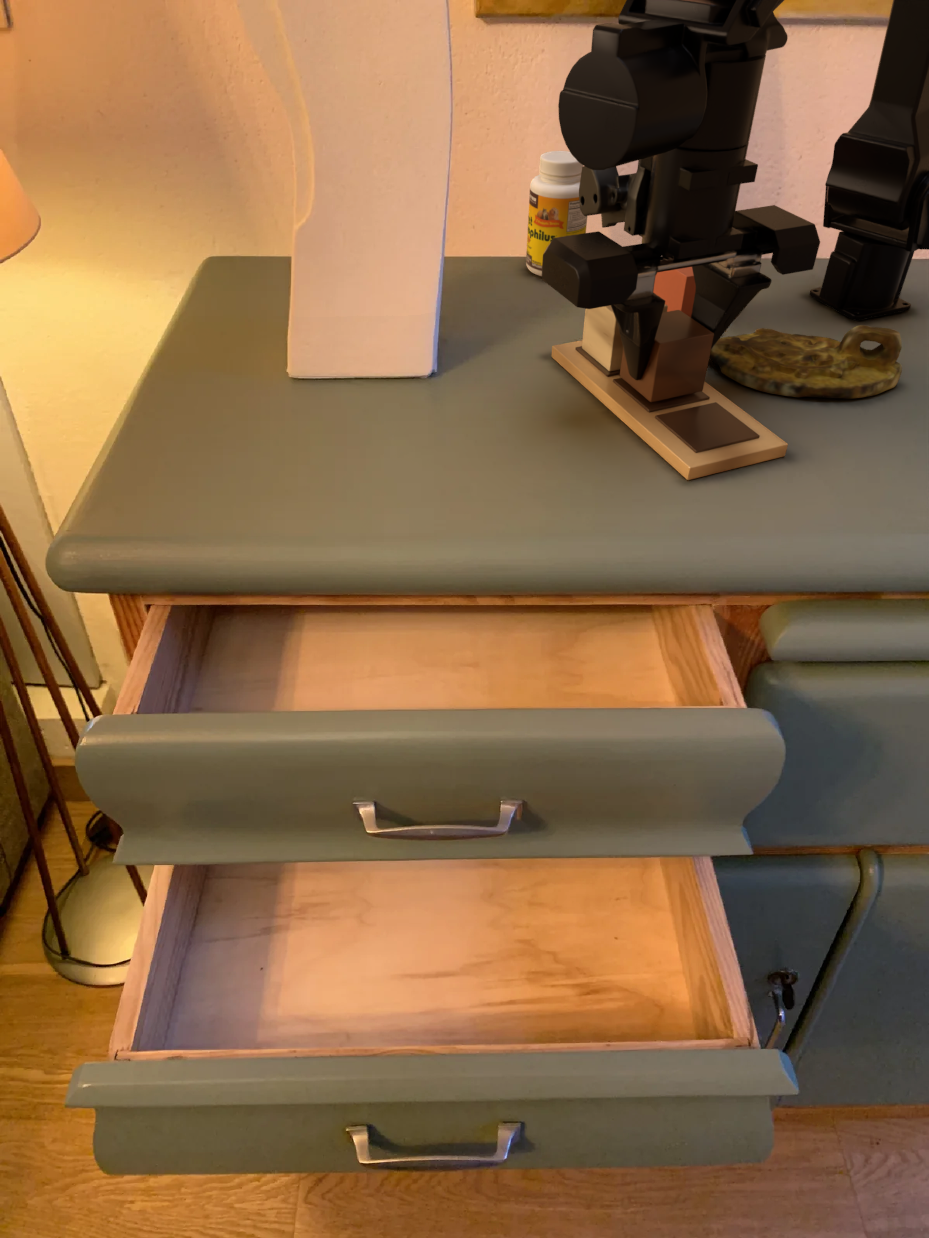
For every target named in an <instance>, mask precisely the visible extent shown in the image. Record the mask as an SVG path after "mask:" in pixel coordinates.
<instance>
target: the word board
mask: <svg viewBox="0 0 929 1238" xmlns="http://www.w3.org/2000/svg"><path fill="white" fill-rule="evenodd" d="M667 308H668V306H667V305H666V304H665V305H664V309H663V312H662V313H664V312H667ZM582 331H583V332H582V339H581V340H577V341H571V342H566V343H559V344H555V345H552V346H551V358H552V359H553V360H554V361H555V362H557V363H558V365H560V366H561V367H562V368H563V369H564V370H565V371H566V372H567V373H568V374H570V375H571V376H572V377H573V378H574V379H575V380H576V381H577V382H579V384H581V385H582V387H584V388H585V389H586V390H587V391H588V392H589V393H591V394H592V396H594V397H595V398H596V399H597V400H598V401H599V402H601V403H602V405H604V406H605V407H606V408H607V409H608V410H610V412H611V413H613V414H614V415H615V416H616V417H617V418H618V419H619V420H621V421H622V422H623V423H624V424H625V425H626V426H627V427H628V428H629V429H630V430H632V432H634V433H635V434H636V435H637V436H638V437H639V438H640V439H641V440H643V442H645V443H646V444H647V445H648V446H649V447H650V448H651V449H652V450H654V451H655V452H656V453H657V454H658V455H659V456H660V457H661V458H662V459H663V460H665V461H666V462H667V464H669V465H670V466H671V467H672V468H674V470H676V471H677V472H678V473H679V474H680V475H681V476H682V477H684V478H685V480H686V481H691V480H694V479H699V478H703V477H706V476H711V475H715V474H718V473H723V472H726V471H730V470H734V469H738V468H743V467H747V466H750V465H751V466H752V465H755V464H759V463H763V462H766V461H767V462H768V461H771V460H776V459H779V458H783V457H785V456H786V454H787V450H788V446H789V443H787V442H786V441H784V440H783V439H782V438H780V436H778V435H777V434H775V433H774V432H773V431H771V430H770V429H769V428H767V427H766V426H765V425H764V424H762V423H761V422H759V421H758V420H757V419H755V417H753V416H752V415H751V414H750V413H748V412H746V411H744V409H742V408H741V407H740V406H738V405H737V404H736V403H735V402H733V401H732V400H730V398H727V397H726V396H725V395H724V394H723V393H721V392H719V390H717V389H716V388H714V387H713V386H712V385H710V384H709V383H708V382H706V381H705V382H704V387H703V391H701V392H696V393H692V394H687V395H683V396H678V397H673V398H669V399H664V400H660V401H655V402H650V401H649V400H647V399H646V398H645V397H644V396H643V395H641V394H640V393H639V392H638V391H637V390H636V389H634V388H633V387H632V386H631V385H630V384H628V383H627V382H626V381H625V380H624V379H622V378H621V377H620V369H621V361H622V354H623V345H622V341H621V336H620V332H619V328H618V324H617V321H616V318H615V315H614V313H613V310H612V307H611V305H610V306H604V307H599V308H593V309H585V312H584V320H583V330H582Z"/></svg>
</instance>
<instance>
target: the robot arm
mask: <svg viewBox="0 0 929 1238" xmlns="http://www.w3.org/2000/svg"><path fill="white" fill-rule="evenodd" d="M783 2H785V0H625V2H624V4H623V7H622V8H621V10H620V13H619V15H618V19H617V20H618V21H617V23H616V22H615V23H614V22H605V23H598V24H595V26H594V27H593V29H592V35H591V36H592V37H591V49H590V51H589V52H587V53H586V54H584V55H583V56H581V57H579V58H578V60H577V61H576V62H575V63H574V64H573V66H572V67H571V68H570V71H569V72H568V74H567V76H566V78H565V82H564V85H563V88H562V90H560V92H559V96H558V105H557V106H558V121H559V127H560V133H561V136H562V138H563V141H564V144H565V146H566V147H567V149H568V151H569V152H571V154H572V155H573V157H574V158H575V159H576V160H577V161H578V162H579V163H581V164H582V165H583V167H582V172H581V179H580V186H579V203H580V210H581V212H582V214H583V215H584V216H587V217H590V216H597V215H600V217H601V228H610V227H615V226H617V224H621V223H624V225H623V231H624V232H626V234H629V235H630V236H632V237H634V236H639V237H641V243H636V244H630V245H621V244H619V243H618V242H617V241H615V240H613V239H611V238H610V237H608V236H607V235H606V234H604V233H603V232H602V231H601V232H600V231H599V230H598V231H592V232H586V233H584V234H577V235H570V236H563V237H557V238H554V239H553V240H552V241H551V243H550V244H549V245H548V247H547V248H546V250H545V252H544V254H543V262H542V276H541V278H540V279H541V280H542V281H543V282H545V283H546V285H548V286H549V287H551V289H553V290H555V291H556V292H557V293H558V294H560V295H561V296H562V297H563V298H564V299H566V300H567V301H568V302H570V303H571V304H572V305H574V306H575V307H576V308H578V309H579V308H580V309H585V310H586V309H593V308H599V307H604V306H610V305H611V307H612V310H613V313H614V315H615V318H616V321H617V324H618V328H619V332H620V336H621V341H622V345H623V349H624V353H625V358H626V362H627V366H628V370H629V374H630V376H631V377H632V378H634V379H635V380H641V379H642V376H643V374H644V372H645V369H646V367H647V364H648V361H649V358H650V354H651V351H652V347H653V344H654V340H655V337H656V333H657V330H658V326H659V323H660V319H661V316H662V312H663V309H664V305H665V300H664V299H662V298H661V297H659V296H658V295H656V294H655V293H653V290H654V283H655V276H656V274H657V272H663V271H669V270H675V269H681V268H687V267H692V270H693V275H694V280H695V285H696V291H695V297H694V302H693V308H692V314H691V318H692V319H694V320H695V321H696V322H698V323H699V324H701V325H702V326H704V327H705V328H707V329H708V330H710V331H711V332H713V333H714V336H713V341H712V346H711V349H712V348H713V346H714V345H715V344H716V343H717V341H718V340H719V339H720V338H722V336H723V335H724V334H725V332H726V331H727V330H728V328H729V327H730V326H731V325H732V324H733V322H734V321H735V320H736V319H737V317H739V315H740V314H741V313H742V312H743V311H744V310H745V308H746V307H748V305H749V304H750V303H751V302H752V301H753V299H754V298H755V297H756V296H757V295H758V294H759V292H761V291H763V290H766V289H769V288H770V286H771V284H772V278H771V277H769V276H767V274H764V273H762V272H761V267H762V258H763V255H769V254H772V255H771V259H770V263H771V265H772V267H774V269H775V271H776V272H777V273H778V274H781V275H783V276H784V275H789V274H790V275H791V274H794V273H801V272H806V271H807V272H808V271H812V270H814V267H815V264H816V260H817V255H818V252H819V248H820V245H821V239H820V236H819V233H818V230H817V227H816V224H815V223H813V222H811V221H809V220H807V219H805V218H803V217H801V216H799V215H797V214H795V213H792V212H790V211H788V210H785V208H781V207H780V206H777V205H775V204H772V205H766V206H765V205H764V206H760V207H752V208H745V209H739V210H737V205H738V201H739V194H740V189H741V185H742V184H743V185H744V184H750V183H755V182H756V177H757V172H758V167H759V164H758V163H756V162H753V161H751V160H748V159H746V158H747V155H748V148H749V143H750V138H751V133H752V129H753V124H754V119H755V113H756V107H757V103H758V97H759V93H760V88H761V83H762V78H763V72H764V68H765V62H766V57H767V51H772V50H777V49H781V48H784V47H785V46H786V44H787V42H788V33H787V32H786V30H785V27H784V26H783V24H782V23H781V22H780V21H779V20H778V18H777V17H776V15H775V13H774V12H775V11H776V10H777V8H778V7H780V6H781V4H783ZM637 161H638V163H637V169H636V172H634V173H627V174H621V175H620V174H619V171H618V168H617V167H619V166H623V165H625V164H629V163H634V162H637ZM824 186H825V192H824V193H825V195H824V207H823V208H824V209H823V221H822V222H823V223H822V227H823V228H827V229H833V230H837V231H838V234H837V239H836V241H835V246H834V249H833V250H832V251H831V252H830V255H829V259H828V262H827V265H826V269H825V273H824V276H823V280H822V284H821V287H816V288H811V289H809V292H808V295H809V297H811V298H813V299H814V300H816V301H818V302H820V303H822V304H823V305H825V306H827V307H829V308H831V309H833V311H836V312H838V313H839V314H842V315H843V316H845V317H846V318H848V319H850V320H852V321H862V320H863V321H864V320H868V319H873V318H878V317H882V316H888V315H893V314H898V313H904V312H907V311H910V310H911V307H912V304H911V303H910V302H908V301H906V300H904V299H902V298H900V296H901V294H902V290H903V287H904V284H905V282H906V279H907V275H908V272H909V269H910V267H911V263H912V260H913V257H914V254H915V252H916V251H918V250H927V251H928V250H929V0H892V4H891V8H890V13H889V18H888V21H887V26H886V29H885V35H884V39H883V43H882V47H881V53H880V57H879V62H878V66H877V70H876V75H875V78H874V84H873V88H872V93H871V97H870V101H869V104H868V107H867V108H866V109H865V110H864V112H863V113H861V115H860V117H859V118H858V119H857V120H856V121H855V123H854V124H853V125H852V126H851V128H849V130H848V131H847V132H842V133H841V134H840V135H839V136H838V138H837V139H836V141H835V143H834V145H833V154H832V161H831V166H830V169H829V171H828V173H827V177H826V181H825V184H824Z"/></svg>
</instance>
